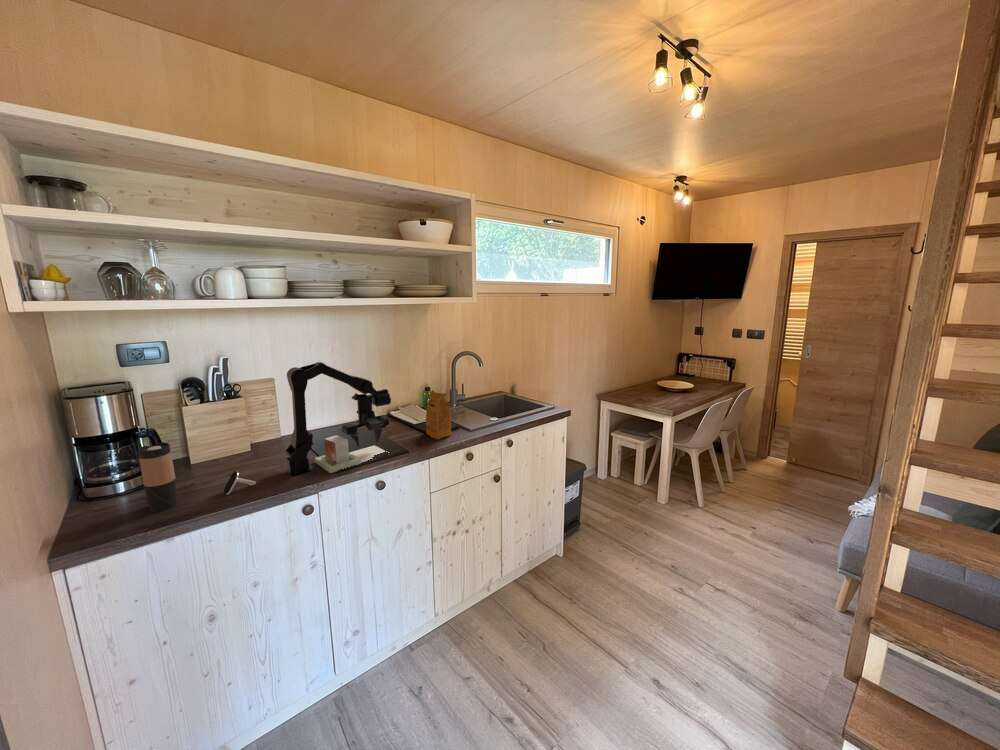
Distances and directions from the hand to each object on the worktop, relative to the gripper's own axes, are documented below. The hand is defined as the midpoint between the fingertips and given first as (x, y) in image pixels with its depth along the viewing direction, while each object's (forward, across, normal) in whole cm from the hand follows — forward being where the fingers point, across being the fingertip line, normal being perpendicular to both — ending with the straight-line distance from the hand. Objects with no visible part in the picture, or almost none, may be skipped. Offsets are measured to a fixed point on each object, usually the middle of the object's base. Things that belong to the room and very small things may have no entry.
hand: (367, 444), depth 167 cm
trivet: (+4, 0, 0) cm, 4 cm away
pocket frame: (+4, -13, 0) cm, 14 cm away
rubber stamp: (+6, -48, +2) cm, 48 cm away
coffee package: (+5, +35, -2) cm, 36 cm away
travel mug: (+5, -66, +7) cm, 67 cm away
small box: (+5, -13, 0) cm, 14 cm away
